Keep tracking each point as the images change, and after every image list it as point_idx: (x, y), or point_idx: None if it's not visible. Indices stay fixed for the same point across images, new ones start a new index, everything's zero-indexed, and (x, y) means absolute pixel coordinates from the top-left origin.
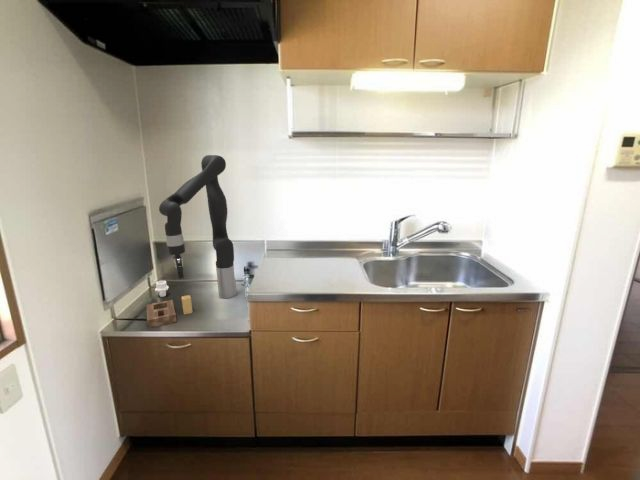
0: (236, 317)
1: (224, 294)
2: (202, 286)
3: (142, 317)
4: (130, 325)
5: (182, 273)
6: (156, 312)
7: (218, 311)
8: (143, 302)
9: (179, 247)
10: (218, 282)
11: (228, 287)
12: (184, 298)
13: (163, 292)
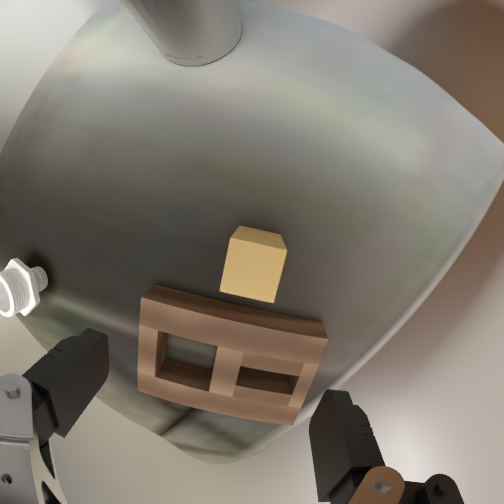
0: (438, 112)
1: (228, 41)
2: (44, 112)
3: None
4: (226, 431)
5: (358, 438)
6: (244, 391)
7: (350, 131)
8: None
9: None
10: (179, 22)
11: (235, 4)
12: (264, 285)
13: (36, 282)
